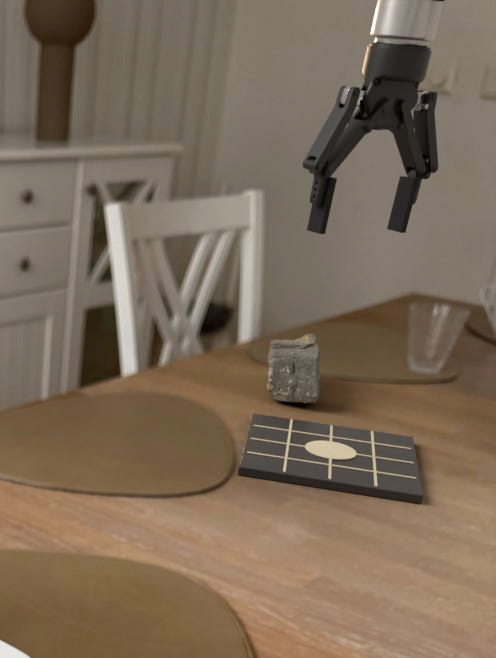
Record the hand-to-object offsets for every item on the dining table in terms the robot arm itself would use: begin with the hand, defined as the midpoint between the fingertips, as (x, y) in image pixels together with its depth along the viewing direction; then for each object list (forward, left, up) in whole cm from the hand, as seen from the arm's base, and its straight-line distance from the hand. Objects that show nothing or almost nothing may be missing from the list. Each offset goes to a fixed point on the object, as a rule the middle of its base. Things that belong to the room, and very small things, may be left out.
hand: (356, 231), depth 129 cm
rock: (+4, +2, -22) cm, 22 cm away
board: (-2, +27, -22) cm, 35 cm away
